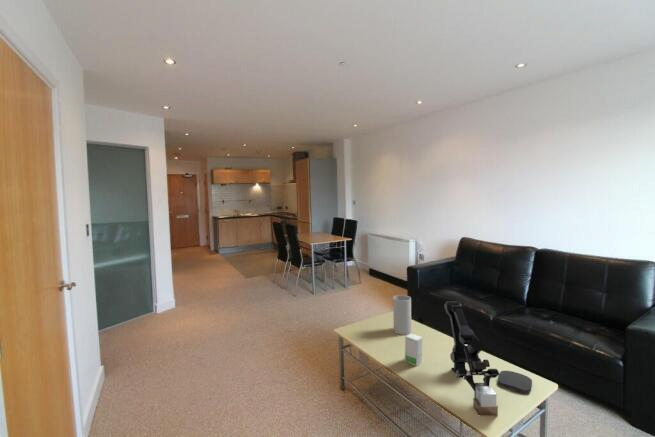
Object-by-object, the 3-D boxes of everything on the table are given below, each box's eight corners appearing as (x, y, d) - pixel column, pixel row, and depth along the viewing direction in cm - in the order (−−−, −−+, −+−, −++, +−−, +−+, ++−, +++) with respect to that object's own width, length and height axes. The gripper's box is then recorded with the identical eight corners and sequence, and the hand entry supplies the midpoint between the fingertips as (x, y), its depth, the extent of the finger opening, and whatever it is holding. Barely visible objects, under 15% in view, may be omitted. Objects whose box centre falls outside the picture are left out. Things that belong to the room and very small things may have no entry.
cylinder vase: (390, 331, 230) (389, 297, 228) (400, 326, 239) (399, 293, 237) (404, 336, 221) (404, 301, 219) (414, 331, 229) (414, 297, 227)
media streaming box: (501, 373, 175) (501, 367, 174) (533, 382, 166) (533, 376, 165) (496, 385, 163) (496, 380, 163) (529, 396, 154) (529, 390, 154)
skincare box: (404, 361, 189) (404, 336, 187) (410, 357, 193) (409, 332, 192) (417, 366, 183) (417, 340, 182) (422, 361, 188) (422, 336, 187)
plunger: (474, 396, 150) (474, 382, 149) (485, 396, 150) (485, 382, 149) (481, 408, 142) (481, 393, 142) (493, 408, 142) (493, 393, 141)
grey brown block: (473, 407, 147) (473, 385, 146) (491, 407, 147) (492, 386, 146) (478, 416, 141) (478, 394, 140) (498, 416, 141) (498, 394, 140)
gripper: (457, 352, 152) (466, 388, 141) (497, 352, 150) (509, 389, 140) (452, 359, 160) (460, 394, 150) (490, 359, 159) (500, 394, 149)
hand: (482, 393), depth 147 cm, fingers closed on plunger, 5 cm apart
